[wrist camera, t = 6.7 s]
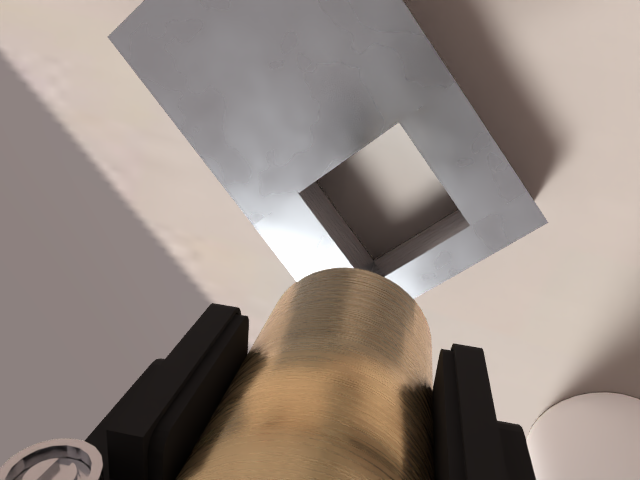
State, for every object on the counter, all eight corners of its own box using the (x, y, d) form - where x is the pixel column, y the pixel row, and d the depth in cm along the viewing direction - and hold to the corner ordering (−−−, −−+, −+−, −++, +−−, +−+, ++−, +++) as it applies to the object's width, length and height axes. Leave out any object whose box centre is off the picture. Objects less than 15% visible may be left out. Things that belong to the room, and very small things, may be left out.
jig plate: (143, 37, 24) (107, 36, 22) (317, -129, 21) (301, -155, 18) (350, 309, 27) (341, 339, 24) (533, 201, 24) (548, 222, 21)
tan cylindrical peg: (273, 255, 12) (39, 579, 5) (444, 281, 12) (480, 691, 4) (265, 396, 14) (71, 820, 6) (417, 425, 13) (410, 928, 6)
